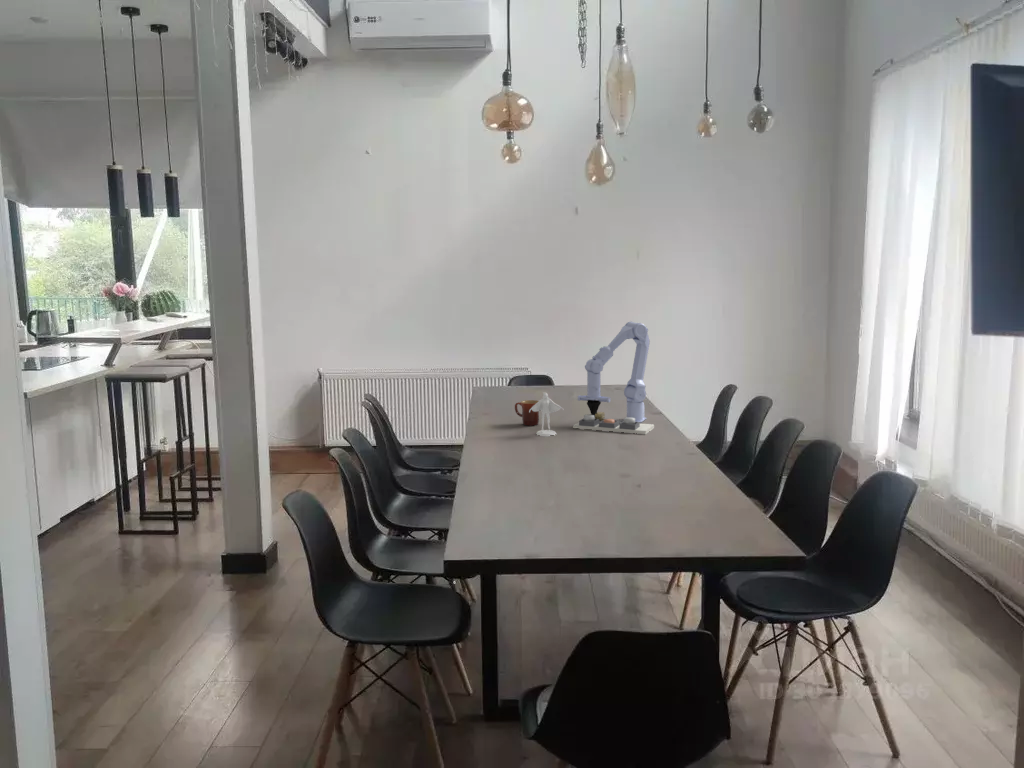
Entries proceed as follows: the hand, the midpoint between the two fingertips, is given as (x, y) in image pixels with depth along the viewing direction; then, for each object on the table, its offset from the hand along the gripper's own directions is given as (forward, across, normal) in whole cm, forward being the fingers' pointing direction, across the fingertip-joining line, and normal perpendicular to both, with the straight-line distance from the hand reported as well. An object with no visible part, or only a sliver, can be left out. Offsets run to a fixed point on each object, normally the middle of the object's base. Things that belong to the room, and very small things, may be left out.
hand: (593, 417), depth 354 cm
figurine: (+3, -13, -24) cm, 27 cm away
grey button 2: (0, +18, -7) cm, 20 cm away
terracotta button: (+2, +9, -7) cm, 12 cm away
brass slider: (+1, +3, 0) cm, 3 cm away
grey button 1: (0, 0, -7) cm, 7 cm away
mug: (+3, -28, -10) cm, 30 cm away
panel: (+3, +10, -4) cm, 12 cm away
